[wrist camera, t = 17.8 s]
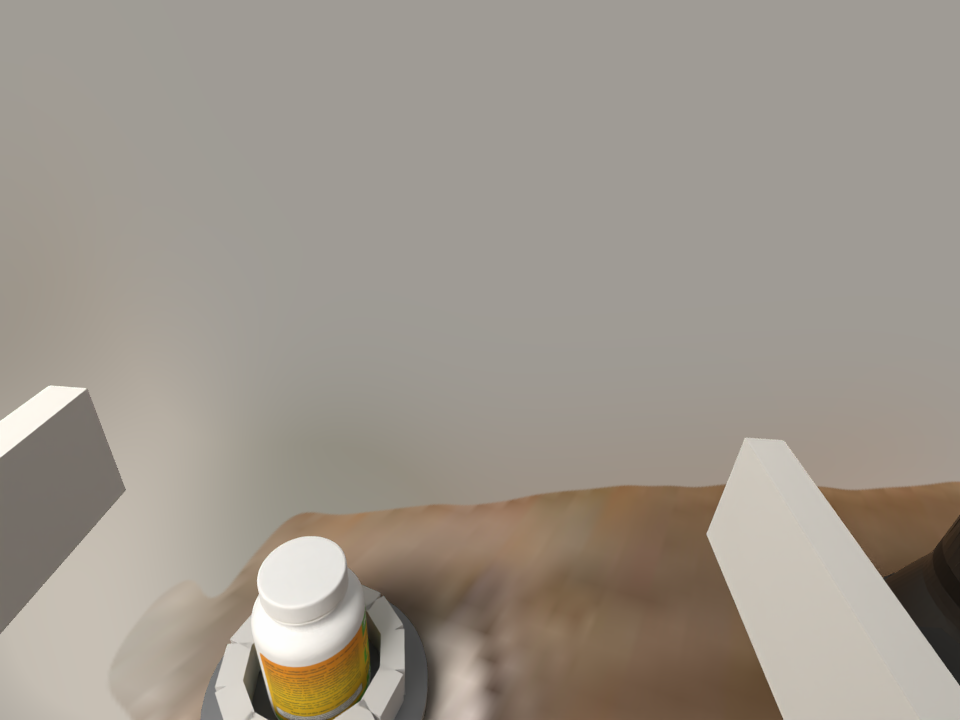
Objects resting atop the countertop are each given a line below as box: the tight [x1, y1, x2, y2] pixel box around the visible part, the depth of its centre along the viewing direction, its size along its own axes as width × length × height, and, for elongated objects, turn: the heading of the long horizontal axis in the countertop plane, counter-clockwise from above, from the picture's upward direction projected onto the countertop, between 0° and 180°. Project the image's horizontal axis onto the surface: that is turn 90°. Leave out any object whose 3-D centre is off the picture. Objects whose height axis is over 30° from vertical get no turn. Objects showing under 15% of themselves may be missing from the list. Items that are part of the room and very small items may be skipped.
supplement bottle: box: [251, 536, 371, 720], centre depth 31 cm, size 6×6×11 cm
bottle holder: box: [200, 585, 428, 720], centre depth 34 cm, size 14×14×4 cm
